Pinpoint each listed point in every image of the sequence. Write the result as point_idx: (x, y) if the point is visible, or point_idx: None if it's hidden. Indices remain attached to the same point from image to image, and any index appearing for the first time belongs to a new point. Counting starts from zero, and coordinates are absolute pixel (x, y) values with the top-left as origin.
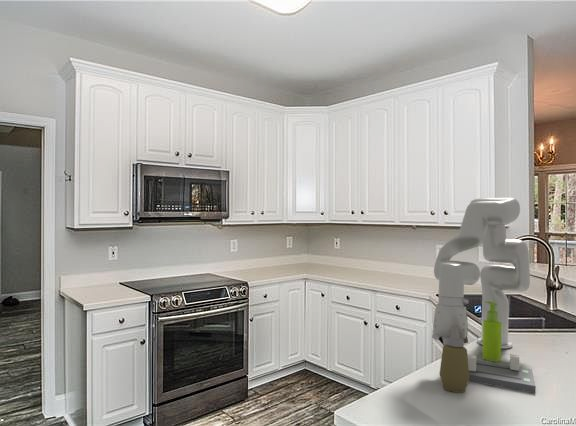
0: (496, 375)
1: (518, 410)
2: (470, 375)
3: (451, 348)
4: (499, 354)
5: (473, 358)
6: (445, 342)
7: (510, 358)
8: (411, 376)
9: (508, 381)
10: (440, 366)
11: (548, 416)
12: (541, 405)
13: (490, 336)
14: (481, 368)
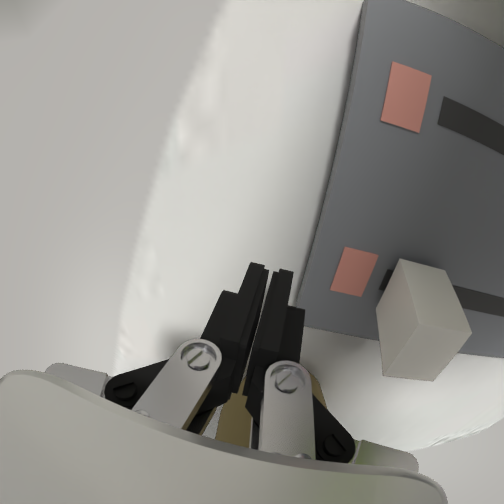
0: (499, 315)
1: (415, 433)
2: (376, 337)
3: None
4: None
5: (419, 379)
6: (191, 425)
7: None
8: (129, 309)
9: (499, 357)
10: (215, 438)
11: (459, 432)
12: (489, 402)
13: None
14: (485, 229)
